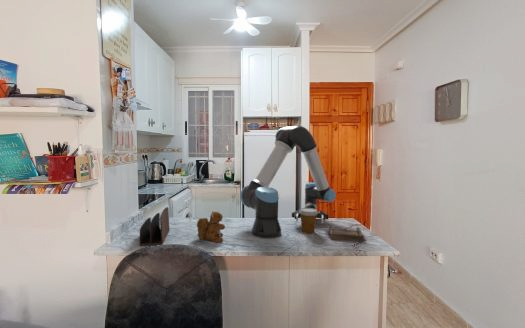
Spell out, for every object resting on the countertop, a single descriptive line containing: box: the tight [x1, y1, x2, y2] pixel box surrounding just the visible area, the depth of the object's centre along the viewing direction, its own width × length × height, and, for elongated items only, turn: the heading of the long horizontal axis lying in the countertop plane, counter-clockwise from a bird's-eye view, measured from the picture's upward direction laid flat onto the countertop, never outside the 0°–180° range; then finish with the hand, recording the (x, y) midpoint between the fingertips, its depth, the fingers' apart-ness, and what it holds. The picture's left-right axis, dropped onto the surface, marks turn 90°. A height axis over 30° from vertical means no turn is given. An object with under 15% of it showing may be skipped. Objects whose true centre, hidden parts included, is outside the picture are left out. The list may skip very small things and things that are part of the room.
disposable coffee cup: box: [299, 207, 319, 235], centre depth 141 cm, size 10×10×12 cm
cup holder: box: [328, 225, 365, 242], centre depth 137 cm, size 15×15×3 cm
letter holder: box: [139, 206, 170, 247], centre depth 129 cm, size 10×20×14 cm, turn 11°
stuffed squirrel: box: [196, 211, 226, 243], centre depth 129 cm, size 10×14×13 cm
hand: (309, 219), depth 142 cm, fingers open, 13 cm apart
